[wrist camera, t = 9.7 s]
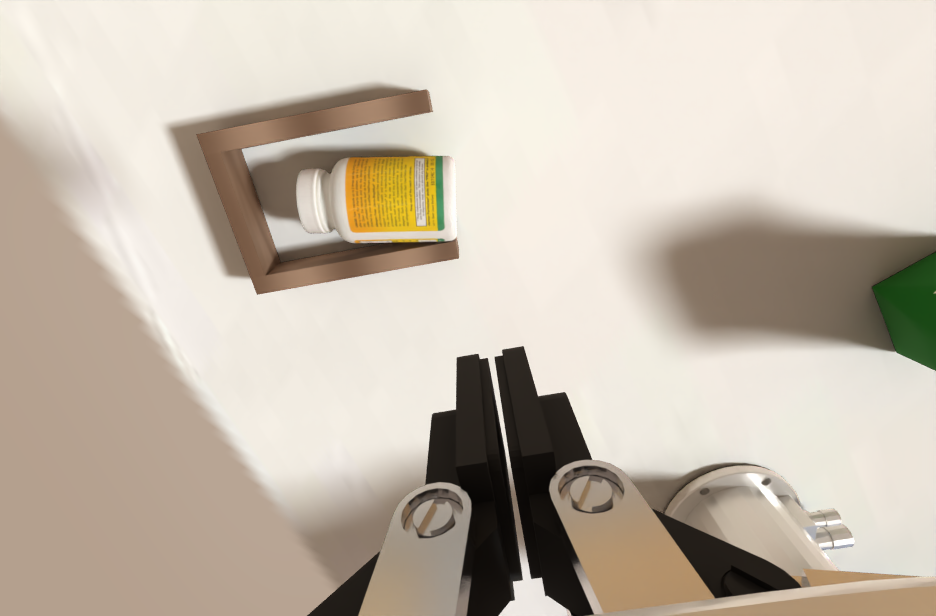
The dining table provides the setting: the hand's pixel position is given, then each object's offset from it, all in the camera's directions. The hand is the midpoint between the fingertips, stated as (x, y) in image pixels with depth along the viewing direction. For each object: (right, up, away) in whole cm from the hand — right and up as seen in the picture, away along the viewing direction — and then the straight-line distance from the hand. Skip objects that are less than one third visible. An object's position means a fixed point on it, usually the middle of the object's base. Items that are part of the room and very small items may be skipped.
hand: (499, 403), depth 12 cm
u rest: (-9, +10, +21) cm, 25 cm away
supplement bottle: (-1, +9, +18) cm, 21 cm away
